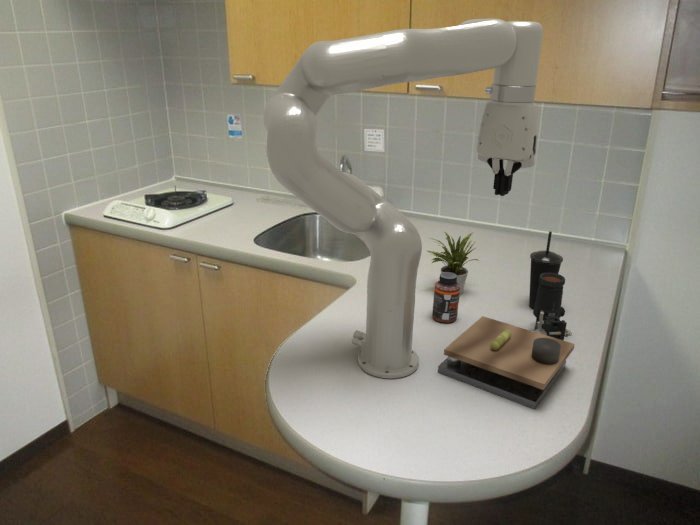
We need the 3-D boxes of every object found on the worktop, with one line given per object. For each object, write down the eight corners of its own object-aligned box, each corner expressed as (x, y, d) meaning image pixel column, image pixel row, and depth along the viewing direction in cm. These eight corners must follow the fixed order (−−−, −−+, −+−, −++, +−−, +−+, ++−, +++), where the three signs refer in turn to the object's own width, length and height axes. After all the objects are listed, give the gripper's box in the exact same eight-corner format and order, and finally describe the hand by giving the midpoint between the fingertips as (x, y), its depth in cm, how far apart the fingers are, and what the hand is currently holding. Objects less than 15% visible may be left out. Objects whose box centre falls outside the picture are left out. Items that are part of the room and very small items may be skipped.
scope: (544, 288, 121) (527, 270, 130) (535, 346, 126) (520, 324, 136) (581, 288, 122) (563, 270, 131) (571, 345, 127) (554, 324, 136)
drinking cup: (532, 297, 149) (543, 224, 142) (560, 307, 144) (573, 232, 137) (517, 306, 144) (527, 231, 137) (545, 317, 139) (557, 239, 132)
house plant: (441, 275, 162) (445, 219, 156) (487, 287, 155) (494, 230, 149) (416, 292, 152) (420, 233, 145) (465, 306, 144) (471, 245, 138)
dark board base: (437, 372, 116) (439, 354, 115) (475, 337, 130) (477, 320, 128) (534, 409, 105) (537, 389, 104) (565, 366, 119) (568, 349, 117)
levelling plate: (443, 354, 114) (445, 336, 112) (481, 320, 127) (483, 303, 126) (543, 390, 103) (546, 369, 101) (573, 349, 116) (577, 330, 115)
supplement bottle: (451, 326, 134) (455, 282, 130) (428, 320, 137) (431, 276, 133) (460, 316, 139) (464, 273, 135) (437, 310, 142) (441, 268, 138)
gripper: (466, 93, 105) (457, 191, 112) (547, 100, 97) (532, 205, 104) (483, 90, 110) (474, 184, 117) (561, 96, 102) (546, 196, 109)
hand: (501, 193), depth 110 cm, fingers closed
